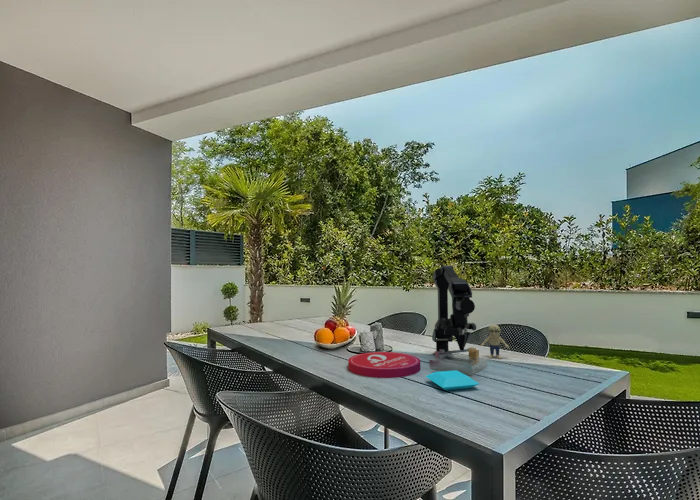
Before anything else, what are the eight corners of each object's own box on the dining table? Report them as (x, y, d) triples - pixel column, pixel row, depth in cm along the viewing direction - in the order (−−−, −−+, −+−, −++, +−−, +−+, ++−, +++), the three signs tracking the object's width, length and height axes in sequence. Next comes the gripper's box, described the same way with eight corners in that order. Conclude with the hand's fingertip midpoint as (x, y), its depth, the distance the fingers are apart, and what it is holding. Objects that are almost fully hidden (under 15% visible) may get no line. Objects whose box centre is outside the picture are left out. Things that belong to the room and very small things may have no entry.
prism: (442, 395, 137) (442, 381, 137) (425, 382, 150) (424, 370, 150) (480, 390, 140) (479, 376, 140) (460, 378, 154) (459, 366, 154)
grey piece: (446, 360, 181) (446, 345, 181) (487, 366, 169) (486, 350, 170) (429, 368, 168) (429, 352, 168) (471, 375, 157) (471, 358, 157)
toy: (479, 357, 185) (479, 324, 185) (480, 355, 190) (480, 323, 191) (509, 360, 180) (508, 326, 181) (509, 357, 186) (509, 324, 186)
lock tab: (471, 356, 173) (471, 346, 173) (479, 357, 171) (478, 347, 171) (466, 358, 168) (465, 348, 168) (473, 360, 166) (473, 349, 166)
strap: (440, 354, 172) (439, 351, 173) (469, 351, 165) (468, 348, 165) (436, 355, 170) (436, 352, 170) (466, 352, 162) (465, 349, 162)
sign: (434, 367, 171) (378, 356, 192) (434, 358, 171) (378, 349, 192) (390, 383, 149) (333, 369, 170) (390, 373, 149) (333, 360, 170)
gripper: (450, 309, 178) (452, 345, 177) (431, 313, 163) (433, 352, 162) (475, 309, 171) (477, 347, 170) (457, 314, 157) (459, 355, 156)
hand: (461, 350), depth 165 cm, fingers closed, pressing on strap
